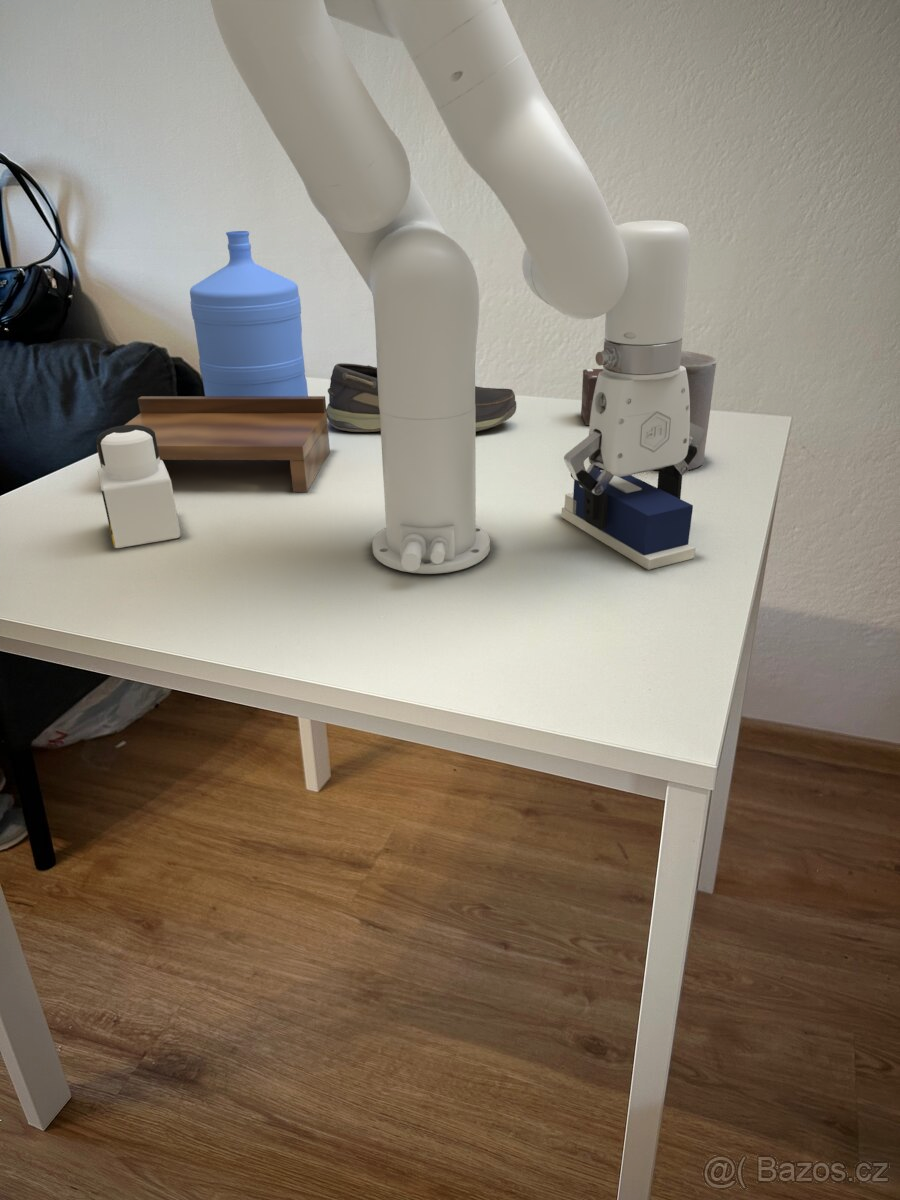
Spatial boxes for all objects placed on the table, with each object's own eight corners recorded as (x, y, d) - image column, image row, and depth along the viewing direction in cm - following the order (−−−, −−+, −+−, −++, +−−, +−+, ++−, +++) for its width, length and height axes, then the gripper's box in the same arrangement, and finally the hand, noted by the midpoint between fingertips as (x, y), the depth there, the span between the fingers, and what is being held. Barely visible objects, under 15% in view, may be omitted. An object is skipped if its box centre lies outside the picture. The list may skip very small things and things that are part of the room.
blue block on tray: (694, 558, 90) (701, 506, 87) (648, 570, 87) (653, 517, 85) (603, 507, 102) (606, 461, 100) (561, 517, 100) (563, 469, 97)
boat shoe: (517, 437, 127) (519, 363, 122) (321, 438, 128) (314, 366, 123) (514, 416, 137) (516, 347, 132) (331, 418, 138) (325, 349, 133)
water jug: (281, 446, 125) (258, 238, 112) (188, 437, 130) (156, 236, 116) (328, 417, 138) (313, 227, 125) (242, 409, 143) (219, 226, 129)
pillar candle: (625, 467, 115) (635, 353, 108) (637, 445, 123) (647, 338, 116) (700, 475, 112) (715, 358, 105) (707, 452, 120) (722, 342, 113)
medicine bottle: (109, 526, 100) (87, 425, 94) (173, 516, 102) (155, 416, 96) (114, 549, 94) (91, 443, 88) (181, 538, 96) (163, 434, 91)
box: (624, 425, 132) (628, 377, 128) (584, 426, 132) (587, 377, 128) (618, 414, 137) (621, 367, 134) (580, 414, 137) (582, 368, 134)
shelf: (307, 492, 108) (301, 430, 105) (106, 491, 110) (92, 430, 106) (329, 451, 123) (325, 396, 119) (151, 451, 124) (141, 396, 120)
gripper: (591, 376, 79) (586, 545, 88) (735, 351, 86) (717, 510, 94) (547, 361, 85) (546, 521, 93) (685, 338, 92) (672, 489, 100)
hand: (632, 515), depth 94 cm, fingers open, 9 cm apart
